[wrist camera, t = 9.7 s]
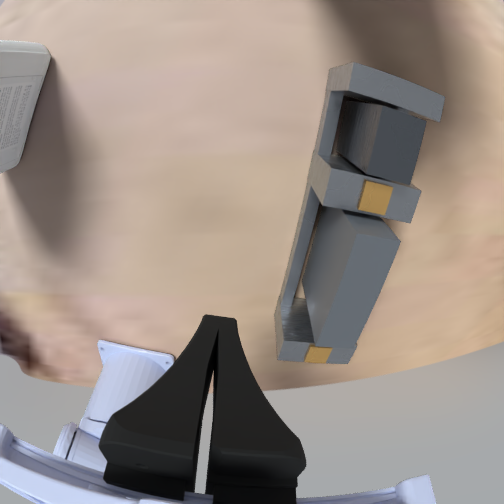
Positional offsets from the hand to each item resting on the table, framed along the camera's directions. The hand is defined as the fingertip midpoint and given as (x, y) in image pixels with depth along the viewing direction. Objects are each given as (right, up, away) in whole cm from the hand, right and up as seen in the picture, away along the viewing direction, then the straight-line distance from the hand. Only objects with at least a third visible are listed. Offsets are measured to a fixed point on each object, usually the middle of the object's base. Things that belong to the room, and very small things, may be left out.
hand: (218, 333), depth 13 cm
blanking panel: (+7, +4, +9) cm, 12 cm away
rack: (+7, +6, +8) cm, 12 cm away
